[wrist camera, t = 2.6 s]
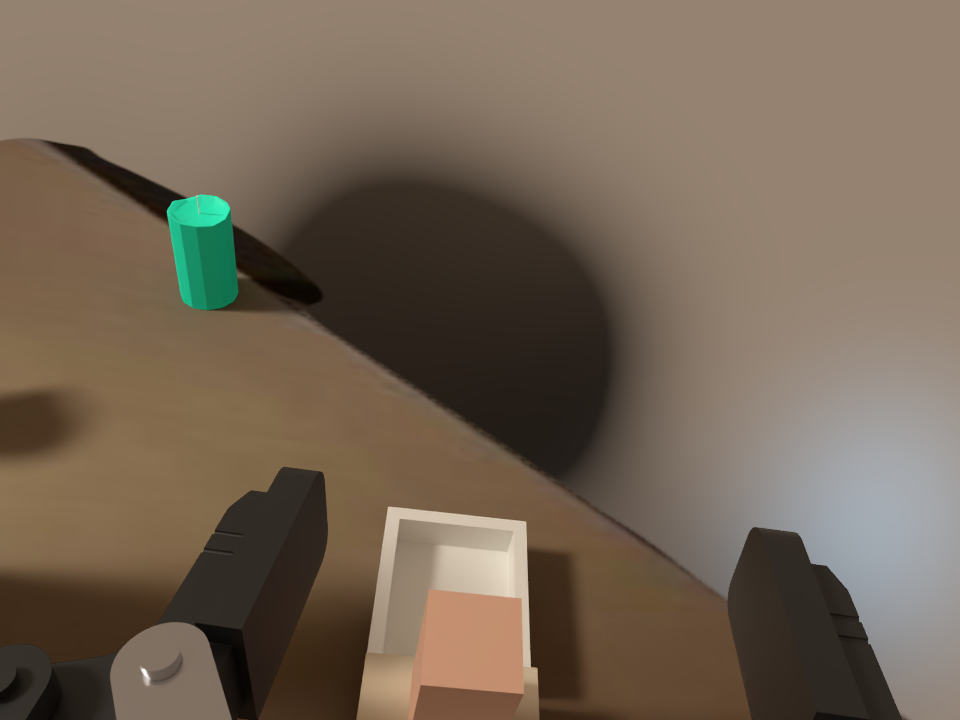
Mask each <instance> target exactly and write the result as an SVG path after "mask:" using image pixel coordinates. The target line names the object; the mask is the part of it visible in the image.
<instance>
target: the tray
mask: <svg viewBox="0 0 960 720" xmlns="http://www.w3.org/2000/svg"><path fill="white" fill-rule="evenodd" d="M429 589H432V590H442V591H452V592H462V593H472V594H482V595H492V596H502V597H512V598H522V637H523V667H531V660H530V629H529V599H528V568H527V537H526V522H524V521H515V520H506V519H497V518H488V517H479V516H470V515H460V514H451V513H442V512H433V511H424V510H415V509H406V508H396V507H388V512H387V519H386V526H385V532H384V539H383V546H382V553H381V560H380V567H379V574H378V581H377V587H376V594H375V601H374V608H373V615H372V622H371V629H370V635H369V642H368V649H367V652H370V653H380V654H391V655H402V656H413V657H415V656H416V651H417V646H418V640H419V635H420V630H421V625H422V620H423V615H424V610H425V605H426V600H427V595H428V590H429Z"/></svg>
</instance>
